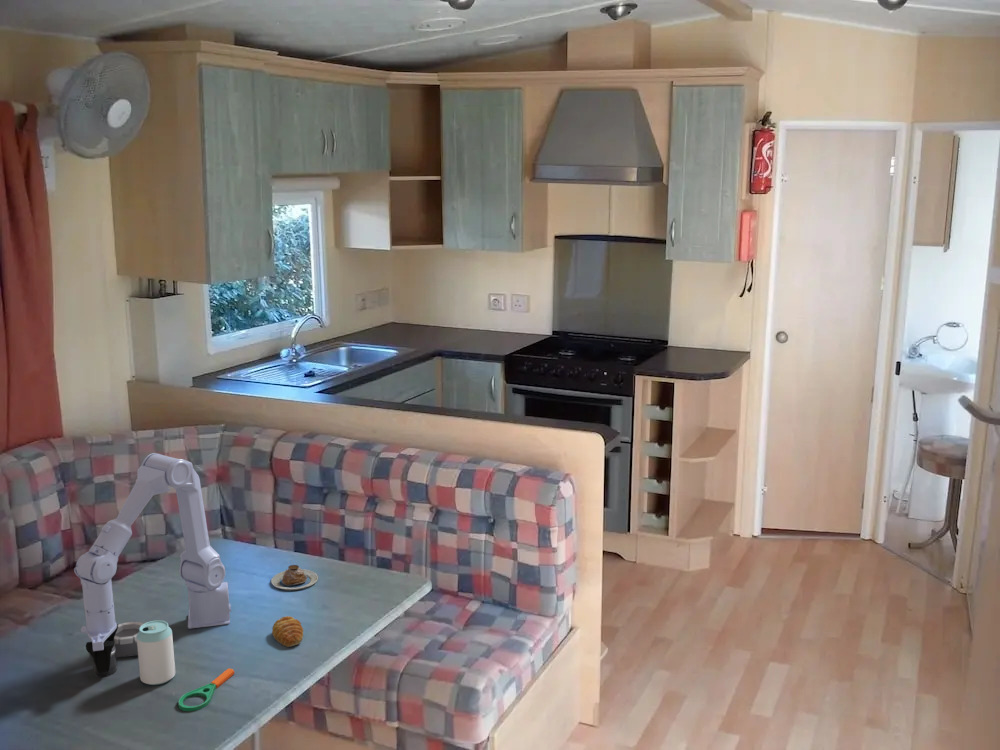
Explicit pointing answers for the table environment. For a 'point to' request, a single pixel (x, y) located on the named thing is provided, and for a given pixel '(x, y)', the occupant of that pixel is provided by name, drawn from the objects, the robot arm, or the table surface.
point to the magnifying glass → (203, 689)
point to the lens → (112, 665)
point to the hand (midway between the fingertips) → (105, 665)
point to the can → (155, 652)
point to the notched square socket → (127, 639)
